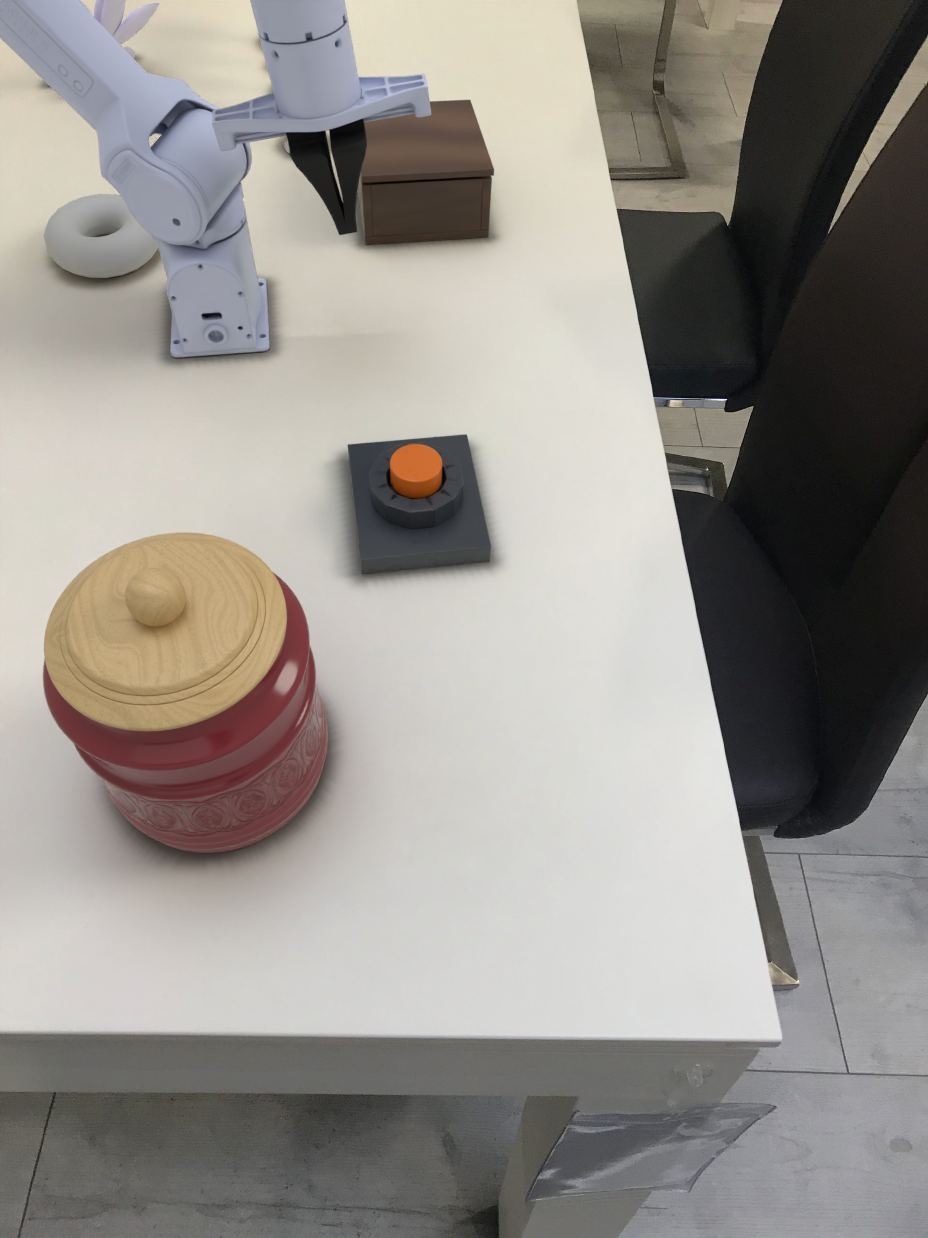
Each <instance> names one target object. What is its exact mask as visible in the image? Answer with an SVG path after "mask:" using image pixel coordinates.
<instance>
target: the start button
mask: <svg viewBox="0 0 928 1238" xmlns="http://www.w3.org/2000/svg"><path fill="white" fill-rule="evenodd" d="M390 477H391V484H392V486H393V488H394V489H395V490H396V491H397V492H398V493H399V494H401V495H403V496H405V497H408V498H424V497H428V496H430V495H432V494H433V493H435V492H436V491H437V490H438V489H439V487H440V485H441V483H442V459H441V457H440V455H439V454H438V453H437V451H435V450H434V449H433V448H431V447H429V446H426V445H421V444H410V445H406V446H403V447H401V448H399V449H398V450H397V451H395V452H394V454H393V455H392V457H391V459H390Z"/></svg>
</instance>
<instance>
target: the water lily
mask: <svg viewBox="0 0 928 1238" xmlns="http://www.w3.org/2000/svg"><path fill="white" fill-rule="evenodd" d="M78 1H79V2H80V3H81V4H82V5H83V6H84V7H85V8H86V9H87V11H88V12H89V13H90V14H91V15H92V16H93V17H94V18H95V19H96V20H97V21H98V22H99V23H100V24H101V25H102V26H103V27H104V28H105V29H106V30H107V31H108V32H109V33H110V34H111V36H112V37H113V38H114V39H115V40H116V41H117V42H118V43H119V44H120V45H121V46H122V45H123V44H125V43H126V42H127V41H129V40H131V38H133V37H134V36H136V35H137V34H138V33H139V32H140V31H141V30H142V29H143V28H144V27H145V26H146V24H148V22H149V21H150V20H151V18H152V17H153V16H154V14H155V12H156V11H157V9H158V8H159V6H160V3H159V2H151V3H148V4H147V3H146V4H144V5H142V6H140V7H138V8H135V9H133V10H132V11H130V12H129V13H128V14H127V15H126V16H125V17H124V13H125V9H126V8H125V6H126V1H127V0H95V4H94V7H93V9H94V10H93V13H92V12H91V10H90V8H89V7H88V5H87V4H86V3H85V2H84V1H83V0H78ZM122 47H123V46H122ZM123 48H124V49H125V50H126V51H127V52H128V53H129V54H130V55H131V56H132V57H133V58H134V59H135V56H136V51H135V50H134V49H133V48H132V47H130V46H124V47H123ZM46 85H48V84H47V83H46ZM48 86H49V85H48Z"/></svg>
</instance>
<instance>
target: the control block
mask: <svg viewBox="0 0 928 1238" xmlns="http://www.w3.org/2000/svg"><path fill="white" fill-rule="evenodd" d="M410 444H421V445H426V446H429V447H431V448H433V449H434V450H435V451H437V453H438V454H439V455H440V457H441V459H442V483H441V485H440V487H439V489H438V490H437V491H436V492H435V493H433V494H432V495H430V496H428V497H424V498H408V497H405V496H403V495H401V494H399V493H398V492H397V491H396V490H395V489H394V488H393V486H392V484H391V477H390V459H391V457H392V455H393V454H394V452H395V451H397V450H398V449H399V448H401V447H403V446H406V445H410ZM347 454H348V462H349V463H348V464H349V472H350V480H351V489H352V491H351V492H352V498H353V499H352V500H353V508H354V509H353V510H354V517H355V525H356V526H355V527H356V534H357V535H356V536H357V544H358V553H359V561H360V571H361V575H371V574H372V575H373V574H381V573H391V572H401V571H410V570H420V569H428V568H429V569H430V568H439V567H450V566H460V565H470V564H471V565H472V564H478V563H488V562H491V553H492V545H491V544H492V543H491V540H490V536H489V530H488V526H487V521H486V517H485V512H484V507H483V502H482V497H481V493H480V488H479V485H478V484H479V483H478V481H477V480H478V479H477V475H476V471H475V466H474V465H475V464H474V461H473V455H472V452H471V446H470V442H469V437H468V434H466V433H464V434H453V435H441V436H432V437H431V436H428V437H418V438H408V439H394V440H384V441H373V442H360V443H348V444H347Z"/></svg>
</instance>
